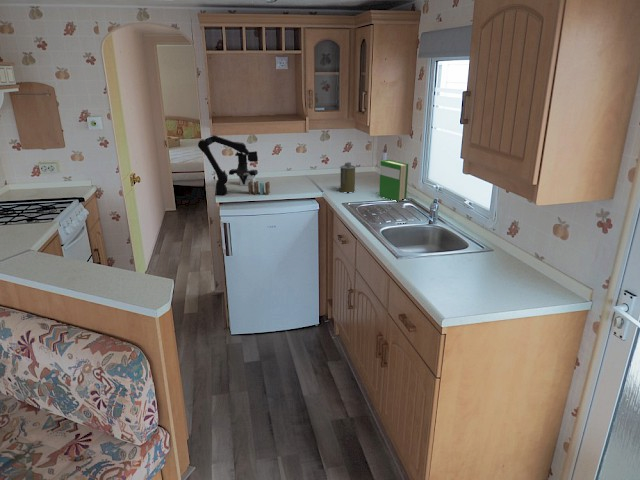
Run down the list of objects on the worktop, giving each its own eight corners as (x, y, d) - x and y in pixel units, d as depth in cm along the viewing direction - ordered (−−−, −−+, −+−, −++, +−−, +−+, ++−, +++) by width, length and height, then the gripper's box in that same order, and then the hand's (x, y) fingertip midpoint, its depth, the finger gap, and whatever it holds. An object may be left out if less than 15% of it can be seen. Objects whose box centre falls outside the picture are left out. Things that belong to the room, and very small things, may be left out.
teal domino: (260, 194, 315) (259, 183, 312) (262, 192, 319) (261, 181, 316) (262, 194, 314) (261, 183, 312) (264, 192, 319) (263, 181, 316)
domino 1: (248, 194, 316) (248, 182, 313) (250, 192, 320) (250, 181, 318) (251, 194, 316) (250, 182, 313) (253, 192, 320) (252, 181, 317)
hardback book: (406, 200, 299) (408, 163, 291) (397, 202, 295) (400, 165, 287) (387, 194, 313) (388, 159, 304) (379, 196, 309) (380, 160, 300)
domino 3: (265, 194, 314) (265, 183, 311) (267, 192, 319) (267, 181, 316) (268, 195, 314) (267, 183, 311) (269, 193, 318) (269, 181, 316)
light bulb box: (256, 183, 343) (255, 169, 339) (253, 185, 337) (253, 171, 333) (242, 183, 344) (240, 169, 340) (239, 185, 338) (238, 171, 334)
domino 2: (254, 194, 315) (253, 183, 312) (256, 192, 320) (255, 181, 317) (256, 194, 315) (256, 183, 312) (258, 192, 320) (258, 181, 317)
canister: (344, 188, 328) (344, 160, 321) (357, 190, 323) (358, 162, 316) (337, 192, 319) (337, 163, 312) (350, 194, 314) (350, 165, 307)
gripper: (225, 164, 305) (227, 187, 311) (252, 164, 302) (253, 188, 308) (230, 160, 315) (232, 183, 321) (257, 161, 312) (258, 183, 318)
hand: (244, 184), depth 317 cm, fingers closed
